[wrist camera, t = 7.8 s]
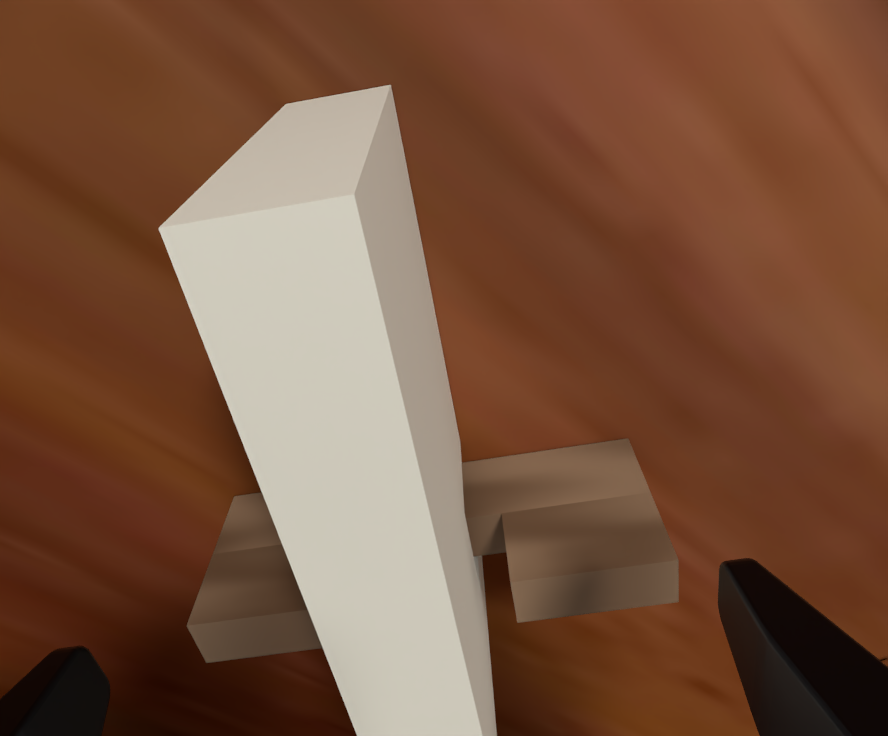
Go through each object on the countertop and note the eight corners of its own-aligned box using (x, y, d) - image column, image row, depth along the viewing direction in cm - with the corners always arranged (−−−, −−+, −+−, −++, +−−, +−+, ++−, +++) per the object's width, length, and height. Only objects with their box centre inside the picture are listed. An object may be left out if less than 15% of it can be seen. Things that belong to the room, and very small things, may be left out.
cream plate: (481, 550, 19) (504, 829, 13) (408, 560, 19) (398, 840, 13) (390, 85, 13) (353, 195, 7) (286, 103, 13) (158, 227, 7)
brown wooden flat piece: (248, 531, 18) (206, 662, 15) (234, 496, 18) (186, 625, 14) (629, 476, 18) (678, 602, 14) (628, 438, 17) (678, 559, 14)
